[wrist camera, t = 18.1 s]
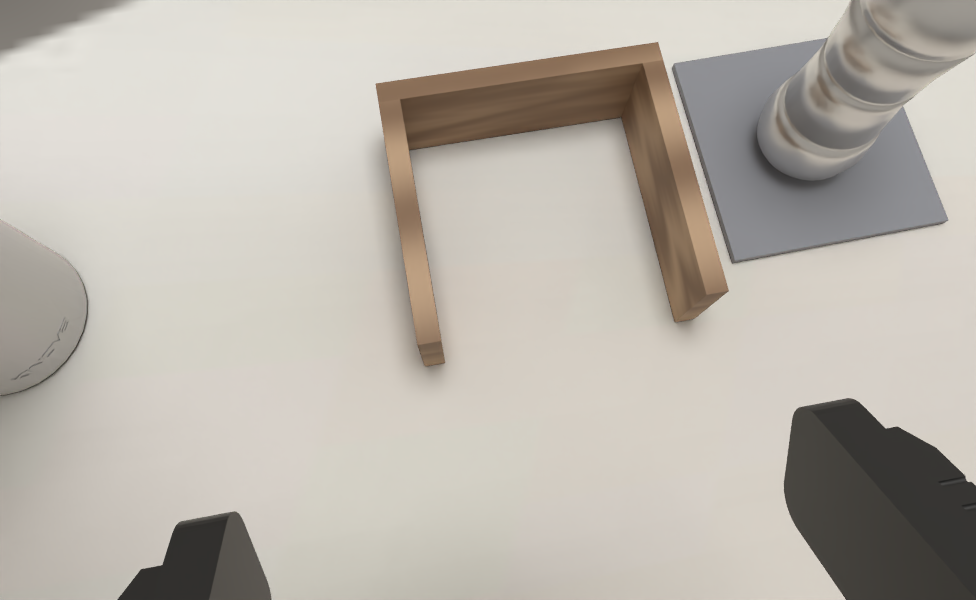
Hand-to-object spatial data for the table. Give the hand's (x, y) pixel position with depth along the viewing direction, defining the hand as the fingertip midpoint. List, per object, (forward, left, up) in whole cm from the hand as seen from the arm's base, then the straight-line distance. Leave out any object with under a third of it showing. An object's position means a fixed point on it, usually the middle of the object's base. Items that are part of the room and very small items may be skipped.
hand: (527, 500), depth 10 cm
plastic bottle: (+5, +29, -30) cm, 42 cm away
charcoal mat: (+5, +30, -31) cm, 43 cm away
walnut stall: (-6, +15, -31) cm, 35 cm away
